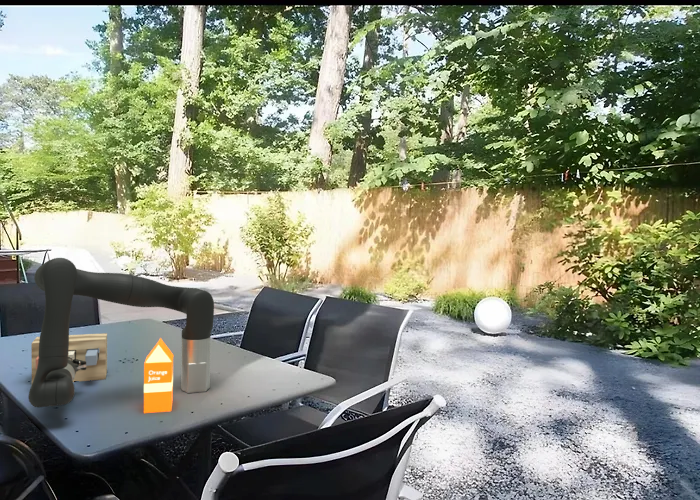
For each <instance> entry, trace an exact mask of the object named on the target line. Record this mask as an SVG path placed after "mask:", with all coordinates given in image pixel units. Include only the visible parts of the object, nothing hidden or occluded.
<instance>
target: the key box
mask: <svg viewBox="0 0 700 500" xmlns="http://www.w3.org/2000/svg"><path fill="white" fill-rule="evenodd" d="M39 340H40V336H36V337H35V338H34V339H33V341H32V342H31V346H30V347H31V350H30V351H31V384H32V383H33V380H34V378H35V375H36V371H37V369H36V358H37V357H38V355H39ZM96 348H99V355H98V360H97V364H96V365H89V366H86V370H78V371H77V372H76V374H75V378H74V380H73V383H75V382H74V381H79V382H87V381H89V382H90V380H91V381H99V380H100V381H101V380H103V381H104V380H106V379H107V372H108V332H105V333H86V334H85V333H84V334H69V350H76V359H78V360H82V361H85V356H86V353H87V350H88V349H96Z"/></svg>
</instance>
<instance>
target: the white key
mask: <svg viewBox="0 0 700 500" xmlns="http://www.w3.org/2000/svg"><path fill="white" fill-rule="evenodd" d="M68 357H70V358H72V361H73V359H76V350H69V351H68Z"/></svg>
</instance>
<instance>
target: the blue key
mask: <svg viewBox="0 0 700 500" xmlns="http://www.w3.org/2000/svg"><path fill="white" fill-rule="evenodd" d="M98 355H99V348H96V349H88V350H87V353H86V356H85V361H86V366H89V365H96V364H97V360H98Z"/></svg>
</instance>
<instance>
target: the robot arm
mask: <svg viewBox="0 0 700 500" xmlns="http://www.w3.org/2000/svg"><path fill="white" fill-rule="evenodd" d="M34 283H35V284H36V286H37V287H38V288H39V290H41V291H43V292H44V296H45V300H44V301H45V303H44V304H45V305H44V314H43V319H42V324H41V329H40V334H39V337H40V340H39V356H38V357H39V358H38V366H37V371H36V375H35V378H34V380H33V383H32V382H31V386H30V389H29V392H28V402H29V403H30V405H31V406H32V407H35V408H44V407H45V408H46V407H57V406H65V405H67V404H70V403H71V401H72V400H73V399H74V397H75V393H76V391H75V389H76V387H75V384H74V382H73V380H74V378H75V374H76V372H77V371H78V370H86V361H82V360H78V359H73V361H72V358H70V357H68V351H69V335H70V322H71V311H72V310H71V309H72V303H73V297H74V296H82V297H89V298H92V299H93V298H94V299H96V300H99V301H100V300H101V301H105V302H110V303H114V304H119V305H124V306H131V307H136V308H165V309H168V310H174V311H176V312H180V313H182V314H185V315H186V318H185V327H183V328H182V329H181V350H180V351H181V353H180V354H181V356H180V357H181V358H180V363H181V364H180V390H181V391H183V392H186V393H187V394H192V393H201V392H207V390H209V389H210V387H211V340H212V339H211V335H212V334H211V333H212V330H213V327H214V318H215V317H214V315H215V302H214V298H213V295H212V294H211V293H210V292H209V291H207V290H205V289H200V288H197V287H185V286H184V287H183V286H176V285H175V286H174V285H170V284H169V285H168V284H165V283H161V282H159V281H157V280H154V279H150V278H146V277H143V276H138V275H133V274H129V273H122V272H121V273H118V272H93V271H88V270H83V269H79V268H77V267H76V265H75V264H74V262H72V261H71V260H69V259H68V258H65V257H54V258H52V259H49V260H47V261H46V262H44V263H43V264H41V265H40V266H39V267H38V268H37V269H36V270H35V272H34Z"/></svg>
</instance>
